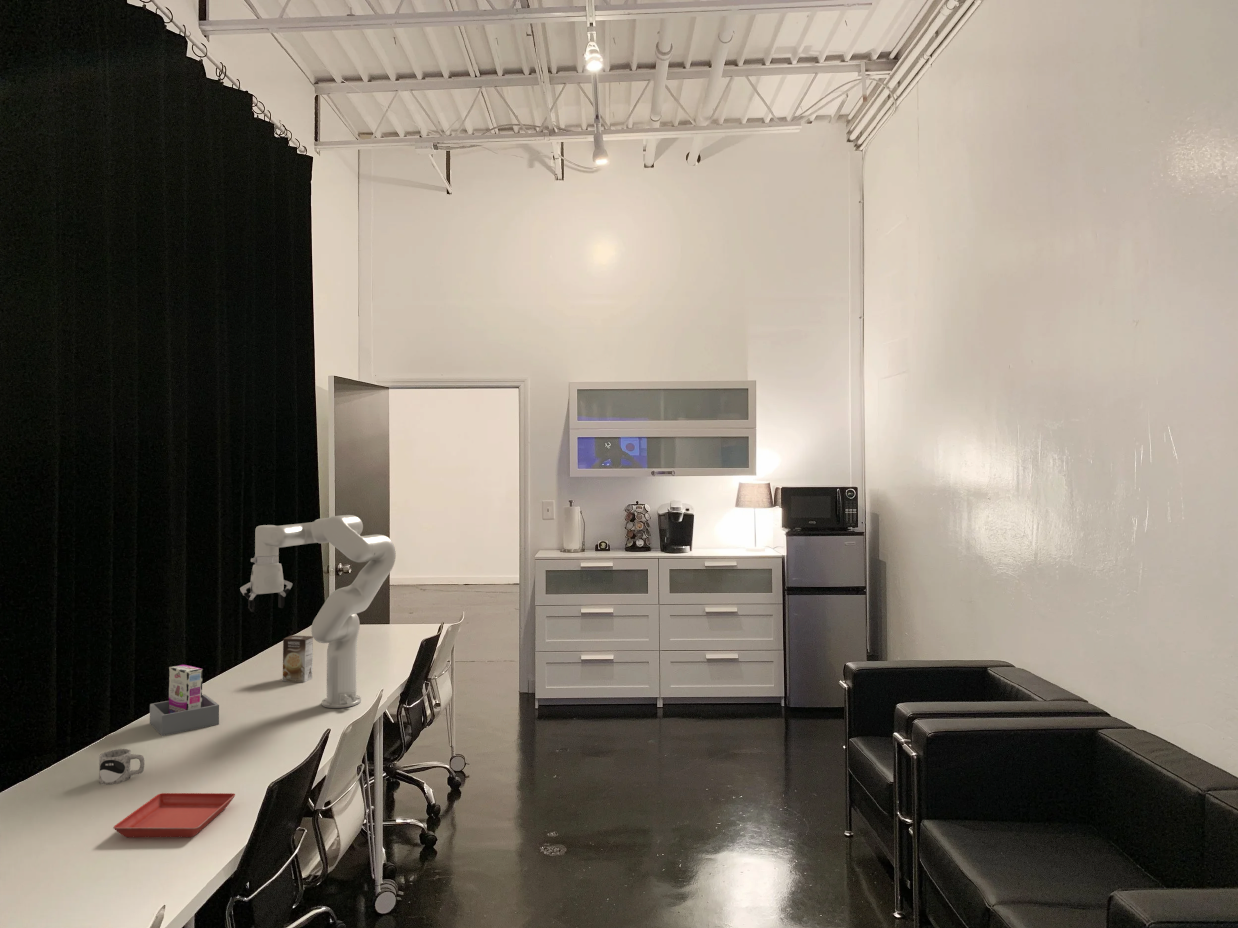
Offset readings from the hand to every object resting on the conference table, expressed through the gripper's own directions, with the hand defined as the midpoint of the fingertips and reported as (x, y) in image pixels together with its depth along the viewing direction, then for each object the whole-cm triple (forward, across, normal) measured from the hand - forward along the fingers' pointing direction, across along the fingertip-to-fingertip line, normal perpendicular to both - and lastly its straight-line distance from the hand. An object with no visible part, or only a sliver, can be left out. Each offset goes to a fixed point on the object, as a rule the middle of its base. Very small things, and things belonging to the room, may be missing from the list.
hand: (266, 609), depth 271 cm
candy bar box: (+30, -29, -14) cm, 43 cm away
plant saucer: (+31, -48, -88) cm, 105 cm away
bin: (+30, -29, -14) cm, 44 cm away
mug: (+31, -52, -51) cm, 79 cm away
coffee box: (+31, +16, +14) cm, 37 cm away
